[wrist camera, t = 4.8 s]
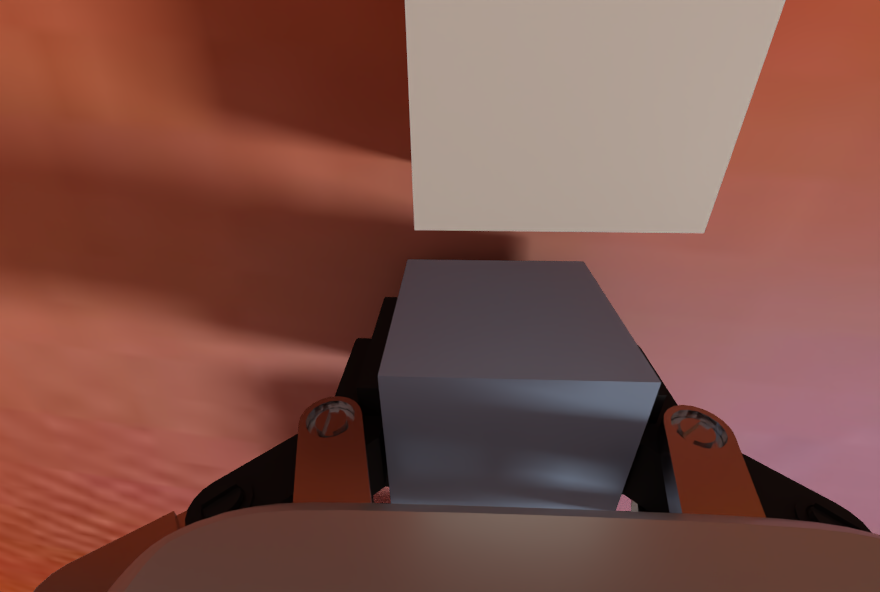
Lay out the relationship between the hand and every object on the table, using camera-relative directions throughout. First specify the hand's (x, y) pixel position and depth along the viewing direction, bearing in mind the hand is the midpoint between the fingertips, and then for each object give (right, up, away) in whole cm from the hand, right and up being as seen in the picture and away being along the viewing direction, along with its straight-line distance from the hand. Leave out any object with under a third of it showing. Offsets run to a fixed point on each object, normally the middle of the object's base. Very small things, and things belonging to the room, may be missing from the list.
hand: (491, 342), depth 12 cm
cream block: (+1, +7, -2) cm, 8 cm away
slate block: (0, 0, 0) cm, 1 cm away
